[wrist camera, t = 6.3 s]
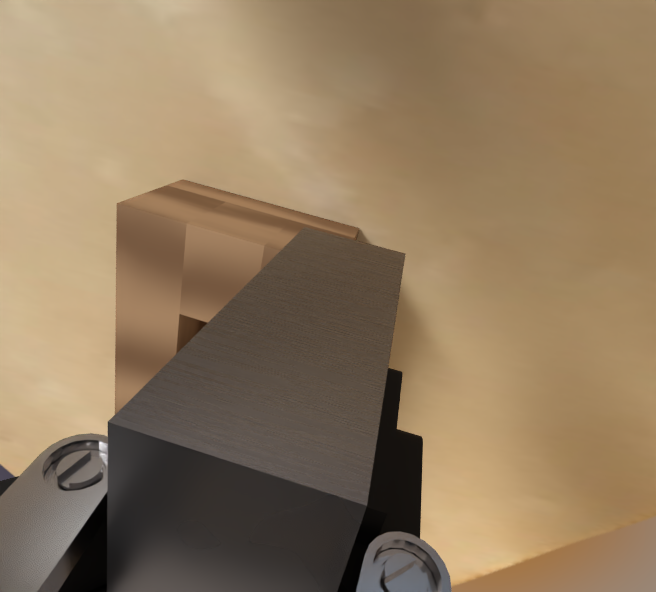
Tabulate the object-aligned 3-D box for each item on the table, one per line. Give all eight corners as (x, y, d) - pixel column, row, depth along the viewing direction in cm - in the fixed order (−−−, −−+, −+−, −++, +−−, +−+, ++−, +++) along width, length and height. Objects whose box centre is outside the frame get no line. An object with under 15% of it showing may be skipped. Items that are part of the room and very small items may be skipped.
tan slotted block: (182, 179, 30) (116, 203, 24) (359, 228, 29) (338, 267, 23) (166, 393, 38) (114, 453, 32) (304, 438, 37) (278, 509, 31)
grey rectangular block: (304, 226, 13) (107, 422, 5) (405, 253, 13) (366, 505, 5) (272, 392, 16) (105, 699, 8) (356, 417, 15) (276, 766, 7)
